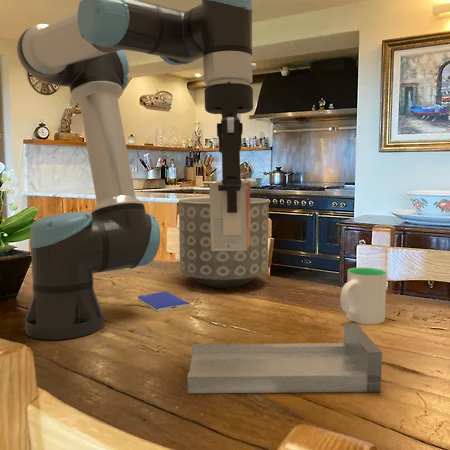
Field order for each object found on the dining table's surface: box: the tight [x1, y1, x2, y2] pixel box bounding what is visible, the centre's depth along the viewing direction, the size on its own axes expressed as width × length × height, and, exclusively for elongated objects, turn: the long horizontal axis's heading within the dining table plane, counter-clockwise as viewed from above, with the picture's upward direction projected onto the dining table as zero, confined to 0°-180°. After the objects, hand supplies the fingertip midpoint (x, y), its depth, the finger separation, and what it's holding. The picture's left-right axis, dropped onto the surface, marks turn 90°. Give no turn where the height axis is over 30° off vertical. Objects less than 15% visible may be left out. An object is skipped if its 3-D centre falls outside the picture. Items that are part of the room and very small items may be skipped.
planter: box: [178, 197, 270, 289], centre depth 135 cm, size 25×25×24 cm
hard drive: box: [137, 291, 190, 313], centre depth 116 cm, size 2×8×12 cm
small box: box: [208, 181, 251, 251], centre depth 75 cm, size 8×6×10 cm
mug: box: [339, 267, 387, 325], centre depth 102 cm, size 12×8×10 cm
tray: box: [187, 322, 383, 394], centre depth 75 cm, size 28×13×6 cm, turn 91°
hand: (231, 231), depth 76 cm, fingers closed on small box, 8 cm apart
